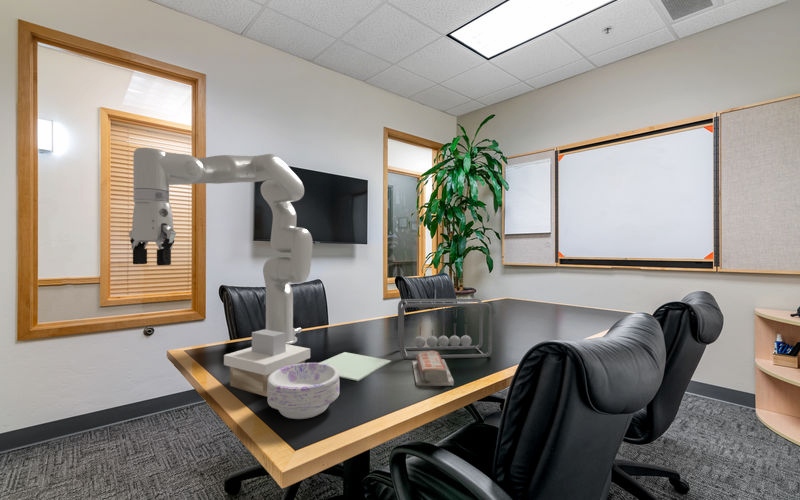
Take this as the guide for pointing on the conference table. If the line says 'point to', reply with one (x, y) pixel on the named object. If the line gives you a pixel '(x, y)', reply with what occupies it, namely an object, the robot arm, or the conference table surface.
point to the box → (250, 380)
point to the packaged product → (431, 370)
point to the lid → (267, 353)
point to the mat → (355, 365)
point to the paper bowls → (303, 389)
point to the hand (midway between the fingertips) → (151, 264)
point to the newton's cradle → (444, 340)
